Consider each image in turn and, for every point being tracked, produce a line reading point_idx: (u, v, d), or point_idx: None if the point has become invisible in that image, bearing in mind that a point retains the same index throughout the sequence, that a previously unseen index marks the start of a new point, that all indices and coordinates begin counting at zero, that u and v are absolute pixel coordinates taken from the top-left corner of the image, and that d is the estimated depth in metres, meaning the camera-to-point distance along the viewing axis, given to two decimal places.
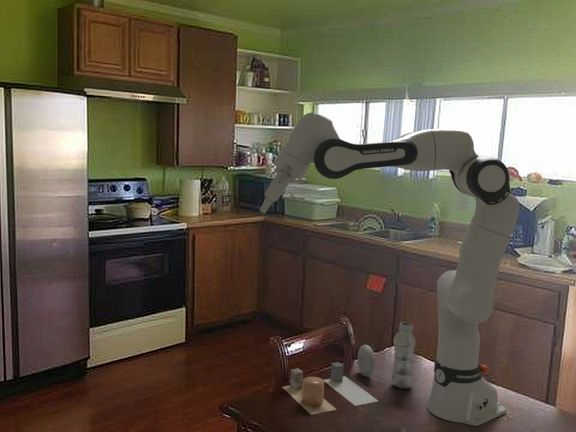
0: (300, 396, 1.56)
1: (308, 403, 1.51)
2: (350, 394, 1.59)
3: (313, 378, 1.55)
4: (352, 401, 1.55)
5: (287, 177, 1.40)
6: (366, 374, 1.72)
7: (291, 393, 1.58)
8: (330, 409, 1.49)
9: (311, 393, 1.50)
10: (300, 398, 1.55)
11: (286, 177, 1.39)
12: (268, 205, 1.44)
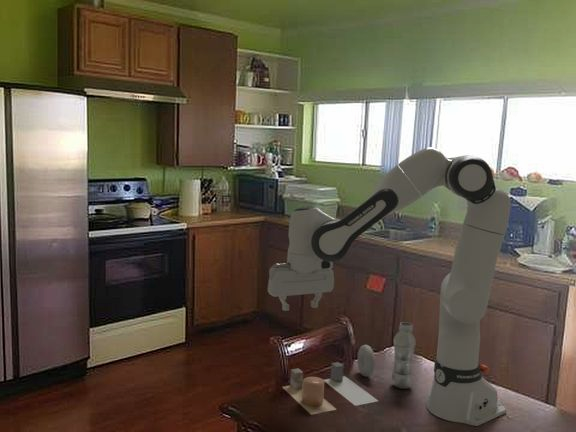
0: (300, 396, 1.56)
1: (308, 403, 1.51)
2: (350, 394, 1.59)
3: (313, 378, 1.55)
4: (352, 401, 1.55)
5: (276, 272, 1.53)
6: (366, 374, 1.72)
7: (291, 393, 1.58)
8: (330, 409, 1.49)
9: (311, 393, 1.50)
10: (300, 398, 1.55)
11: (275, 272, 1.53)
12: (282, 302, 1.56)
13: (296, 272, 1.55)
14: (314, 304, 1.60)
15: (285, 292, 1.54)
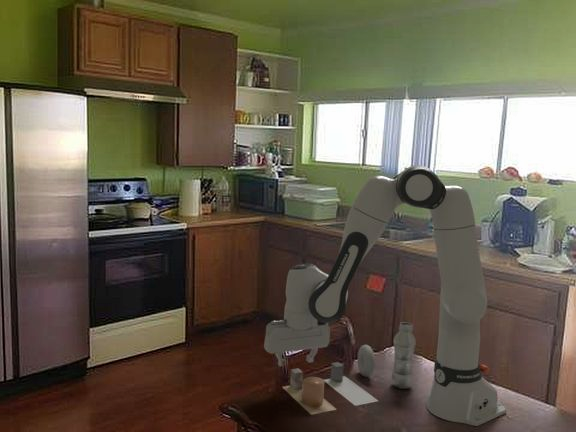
0: (300, 396, 1.56)
1: (308, 403, 1.51)
2: (350, 394, 1.59)
3: (313, 378, 1.55)
4: (352, 401, 1.55)
5: (272, 329, 1.55)
6: (366, 374, 1.72)
7: (291, 393, 1.58)
8: (330, 409, 1.49)
9: (311, 393, 1.50)
10: (300, 398, 1.55)
11: (272, 329, 1.55)
12: (278, 358, 1.58)
13: (292, 329, 1.57)
14: (310, 359, 1.63)
15: (281, 349, 1.57)
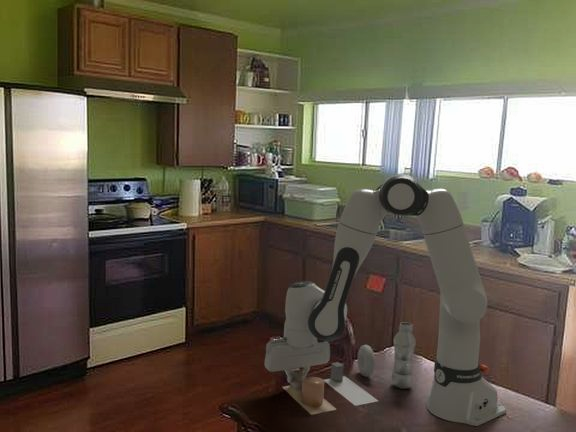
0: (300, 396, 1.56)
1: (308, 403, 1.51)
2: (350, 394, 1.59)
3: (313, 378, 1.55)
4: (352, 401, 1.55)
5: (272, 348, 1.56)
6: (366, 374, 1.72)
7: (291, 393, 1.58)
8: (330, 409, 1.49)
9: (311, 393, 1.50)
10: (300, 398, 1.55)
11: (272, 348, 1.56)
12: (288, 374, 1.60)
13: (292, 347, 1.58)
14: None
15: (282, 367, 1.57)
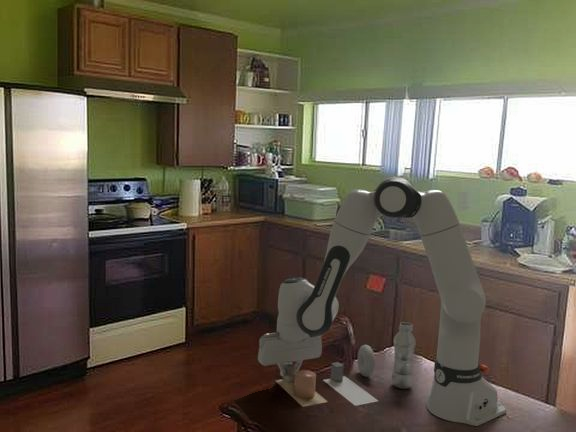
0: (292, 389, 1.61)
1: (300, 396, 1.55)
2: (350, 394, 1.59)
3: (305, 371, 1.59)
4: (352, 401, 1.55)
5: (265, 342, 1.60)
6: (366, 374, 1.72)
7: (284, 386, 1.62)
8: (321, 401, 1.54)
9: (303, 386, 1.54)
10: (292, 391, 1.59)
11: (265, 342, 1.60)
12: (280, 368, 1.64)
13: (285, 341, 1.62)
14: None
15: (274, 361, 1.61)
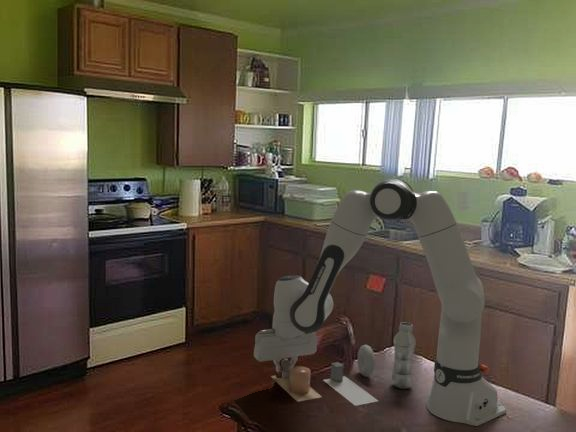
0: (288, 385, 1.63)
1: (295, 391, 1.58)
2: (350, 394, 1.59)
3: (300, 367, 1.62)
4: (352, 401, 1.55)
5: (261, 338, 1.63)
6: (366, 374, 1.72)
7: (279, 382, 1.65)
8: (316, 397, 1.56)
9: (298, 381, 1.57)
10: (288, 386, 1.62)
11: (261, 338, 1.63)
12: (276, 364, 1.67)
13: (280, 338, 1.65)
14: None
15: (270, 357, 1.64)
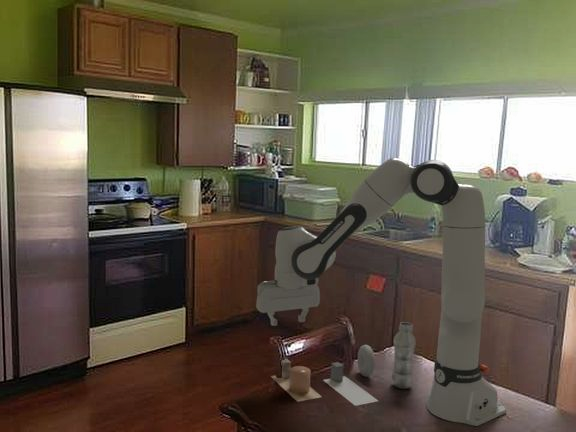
0: (288, 385, 1.63)
1: (295, 391, 1.58)
2: (350, 394, 1.59)
3: (300, 367, 1.62)
4: (352, 401, 1.55)
5: (263, 289, 1.61)
6: (366, 374, 1.72)
7: (279, 382, 1.65)
8: (316, 397, 1.56)
9: (297, 381, 1.57)
10: (288, 386, 1.62)
11: (263, 289, 1.61)
12: (271, 317, 1.64)
13: (283, 289, 1.63)
14: (301, 319, 1.68)
15: (273, 308, 1.62)
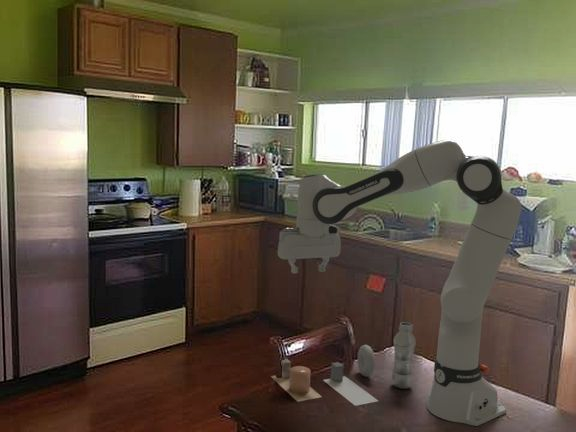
0: (288, 385, 1.63)
1: (295, 391, 1.58)
2: (350, 394, 1.59)
3: (300, 367, 1.62)
4: (352, 401, 1.55)
5: (285, 235, 1.61)
6: (366, 374, 1.72)
7: (279, 382, 1.65)
8: (316, 397, 1.56)
9: (298, 381, 1.57)
10: (288, 386, 1.62)
11: (285, 236, 1.61)
12: (292, 265, 1.64)
13: (305, 236, 1.63)
14: (322, 268, 1.68)
15: (294, 255, 1.62)
